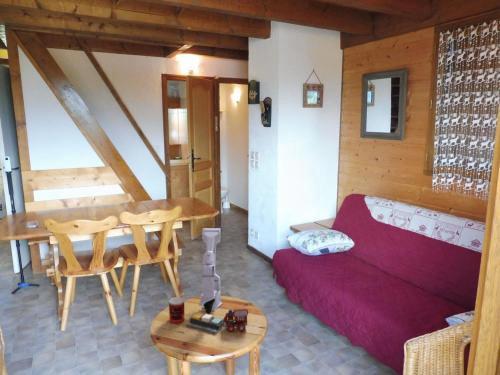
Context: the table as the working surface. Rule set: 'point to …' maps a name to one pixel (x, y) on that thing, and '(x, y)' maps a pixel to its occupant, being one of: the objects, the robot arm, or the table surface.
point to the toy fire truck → (236, 320)
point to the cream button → (207, 318)
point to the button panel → (205, 325)
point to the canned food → (176, 310)
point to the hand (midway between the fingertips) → (208, 313)
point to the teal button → (216, 321)
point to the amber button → (197, 316)
